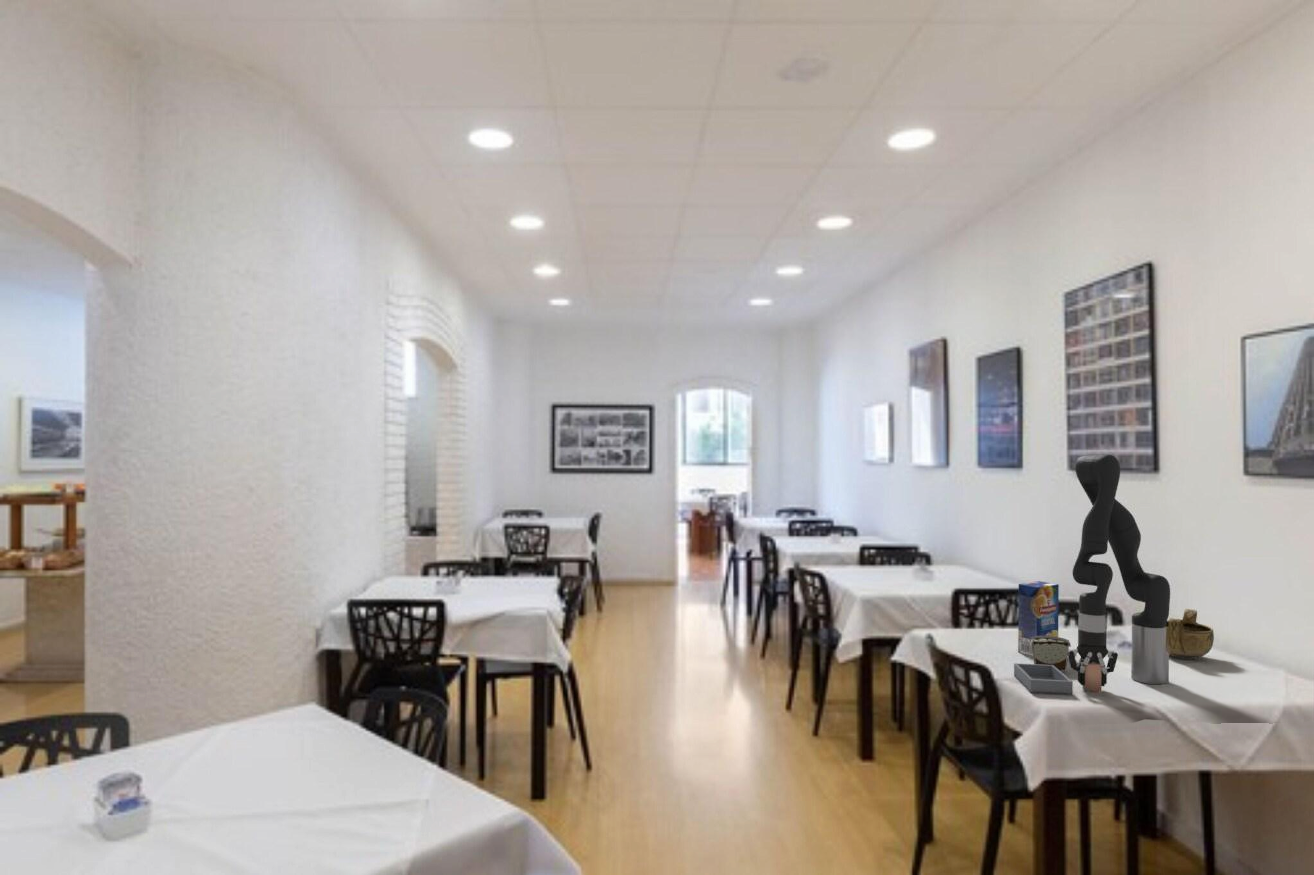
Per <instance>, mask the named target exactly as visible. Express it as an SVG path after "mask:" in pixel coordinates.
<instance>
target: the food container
mask: <svg viewBox="0 0 1314 875" xmlns="http://www.w3.org/2000/svg"><path fill="white" fill-rule="evenodd" d="M1030 645H1031V646H1033V655H1034V656H1033V664H1041V665H1054V666H1055V667H1056V668H1057V669H1058V670H1059V671H1061V672H1067V666H1068V659H1069V658H1068V654H1067V650H1068V649H1070V647H1071V646H1072V645H1071V642H1070V639H1067V638H1064V637H1059V636H1058V637H1054V636H1035V637H1032V639H1031V643H1030Z"/></svg>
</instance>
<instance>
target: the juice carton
mask: <svg viewBox="0 0 1314 875" xmlns="http://www.w3.org/2000/svg"><path fill="white" fill-rule="evenodd" d="M1059 585H1060V584H1059V583H1052V582H1046V581H1041V580H1038V581H1032V582H1031V581H1030V582H1025V583H1018V616H1017V617H1018V621H1017V622H1018V625H1017V626H1018V628H1017V630H1018V634H1017V635H1018V636H1017V638H1018V640H1017V643H1018V644H1017V647H1018V649H1017V651H1018V653H1021V654H1023V655H1027V656H1031V657H1034V655H1033V646H1031V645H1030V643H1031V639H1032V637H1035V636H1054V637H1059V602H1060V601H1059V592H1060V591H1059V590H1060V589H1059V587H1060V586H1059Z"/></svg>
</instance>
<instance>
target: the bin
mask: <svg viewBox="0 0 1314 875" xmlns="http://www.w3.org/2000/svg"><path fill="white" fill-rule="evenodd" d="M1013 677H1014V678H1016V680H1017V681H1018V682H1019V683H1020V684H1021V685H1022V686H1023V687H1024V689H1026V690H1027V691H1028V692H1029V693H1030V694H1036V695H1037V694H1039V695H1041V694H1042V695H1059V696H1073V692H1074V690H1073V684H1074V683H1073V681H1072V680H1071V679H1070V678H1069V677H1068V676H1066V675H1065V674H1064V673H1063V671H1059V670H1058V669H1057V668H1056V667H1055V666H1054V665H1041V664H1034V663H1017V662H1015V663H1013Z"/></svg>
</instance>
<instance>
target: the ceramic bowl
mask: <svg viewBox="0 0 1314 875" xmlns="http://www.w3.org/2000/svg"><path fill="white" fill-rule="evenodd" d="M1197 618H1198V611H1197V610H1196V609H1190V608H1185V609H1184V611H1183V616H1182V619H1180V618H1173V617H1172V618H1171V617H1170V618H1168V620H1167V622H1166V651H1167V652H1168V653H1169V656H1171V657H1174V658H1178V659H1182V660H1183V659H1184V660H1194V659H1198V658H1202V657H1204V656H1205V655H1207V654H1208V653H1209V652H1210V651H1211V650H1212V648H1213V645H1214V640H1215V636H1214V635H1215V634H1214V628H1212V627H1211V626H1209V625H1205V624H1200V623H1198V622H1197Z"/></svg>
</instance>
